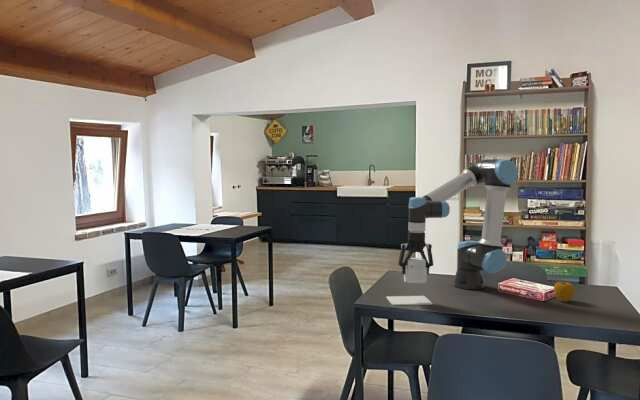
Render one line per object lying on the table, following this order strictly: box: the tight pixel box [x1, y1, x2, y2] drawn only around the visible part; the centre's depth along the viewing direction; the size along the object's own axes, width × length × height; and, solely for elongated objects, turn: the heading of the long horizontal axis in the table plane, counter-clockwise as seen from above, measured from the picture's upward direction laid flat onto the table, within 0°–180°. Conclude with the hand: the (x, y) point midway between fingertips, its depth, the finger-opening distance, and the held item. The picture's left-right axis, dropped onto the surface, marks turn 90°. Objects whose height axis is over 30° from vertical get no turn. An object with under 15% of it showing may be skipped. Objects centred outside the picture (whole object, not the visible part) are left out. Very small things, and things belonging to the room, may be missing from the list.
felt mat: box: [385, 295, 433, 306], centre depth 215 cm, size 18×12×1 cm, turn 95°
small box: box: [406, 257, 426, 284], centre depth 214 cm, size 8×6×10 cm
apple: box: [553, 281, 576, 303], centre depth 216 cm, size 9×8×9 cm
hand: (415, 281), depth 215 cm, fingers closed on small box, 8 cm apart
